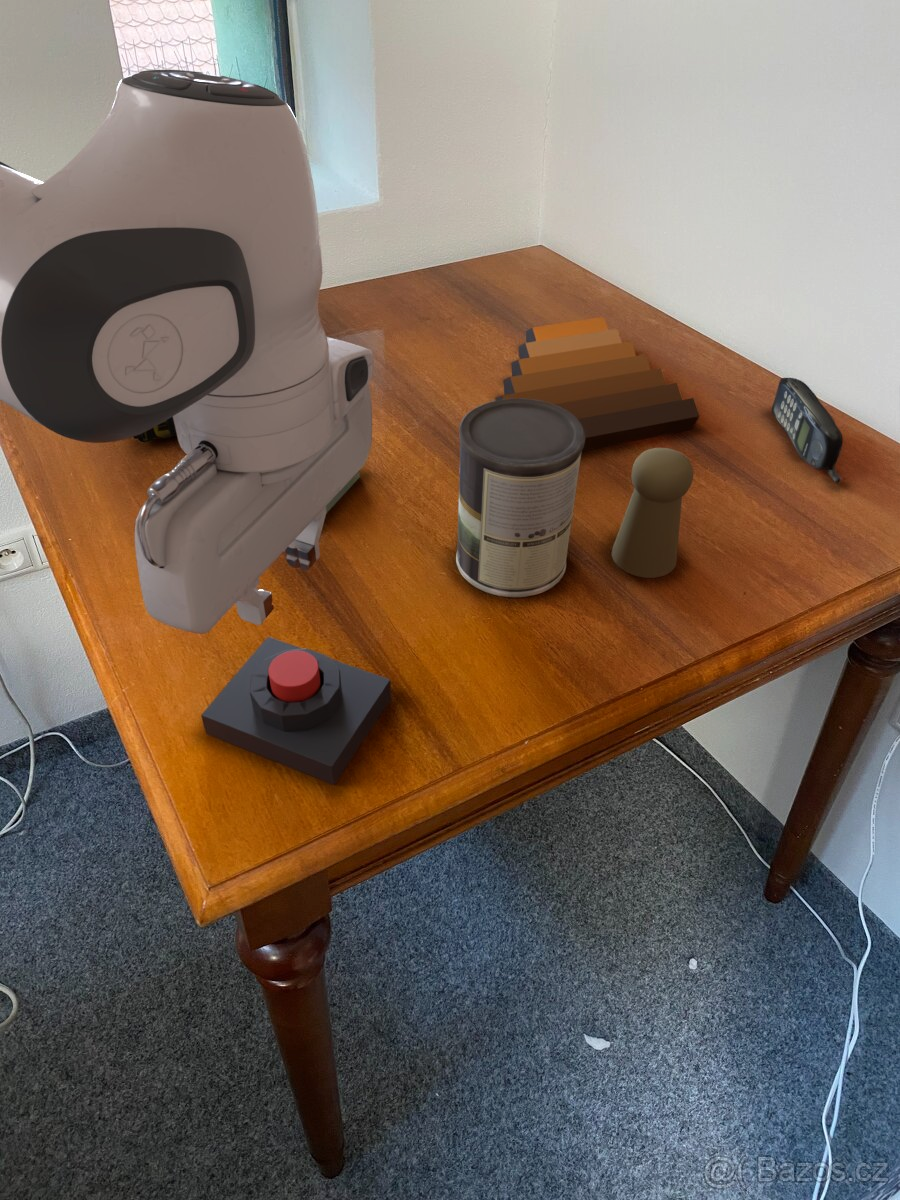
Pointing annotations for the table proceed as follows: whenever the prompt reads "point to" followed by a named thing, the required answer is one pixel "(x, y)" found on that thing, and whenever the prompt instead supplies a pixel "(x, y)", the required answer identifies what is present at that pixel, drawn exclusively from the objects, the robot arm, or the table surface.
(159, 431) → the tape measure
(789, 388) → the mobile phone
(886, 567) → the table surface
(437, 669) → the table surface
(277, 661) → the button
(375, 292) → the table surface
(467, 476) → the coffee can
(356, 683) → the button block
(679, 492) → the game pawn
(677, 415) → the pan flute
